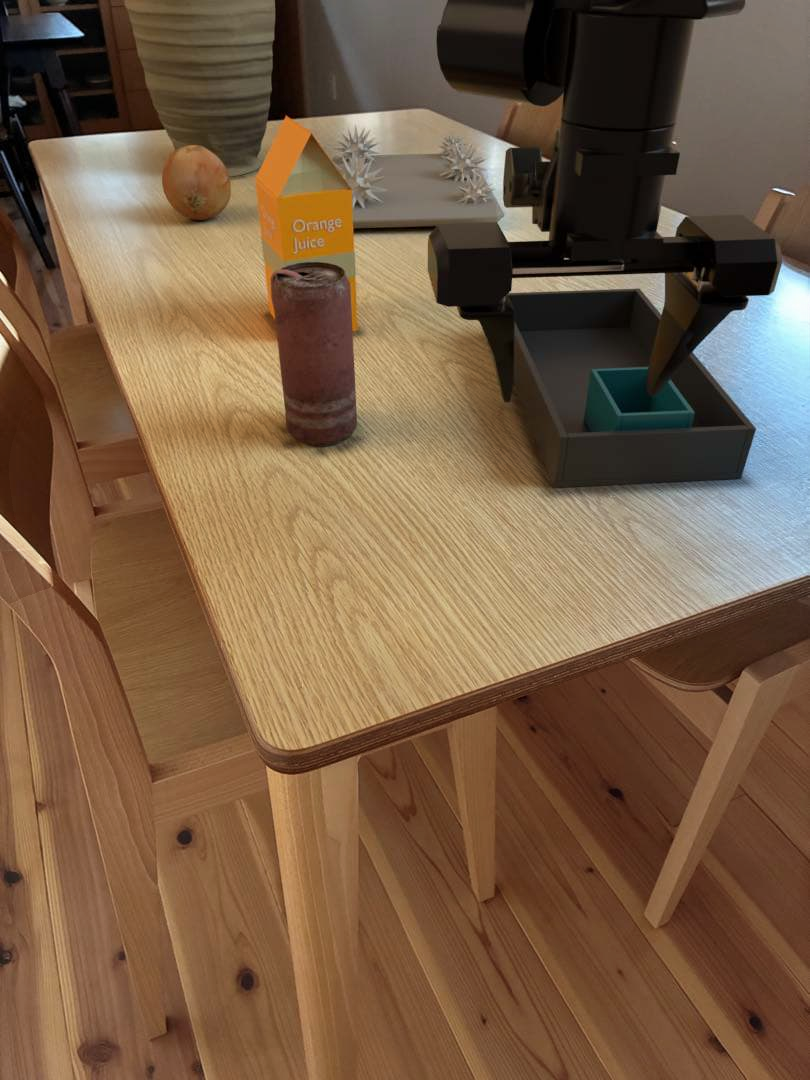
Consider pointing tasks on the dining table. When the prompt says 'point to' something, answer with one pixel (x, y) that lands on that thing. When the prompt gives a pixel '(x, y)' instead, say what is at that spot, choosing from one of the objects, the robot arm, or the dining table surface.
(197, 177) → the onion
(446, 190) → the decorative tray
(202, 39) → the vase
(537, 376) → the tray
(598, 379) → the teal bin
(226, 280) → the dining table surface
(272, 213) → the orange juice
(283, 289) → the soda can
